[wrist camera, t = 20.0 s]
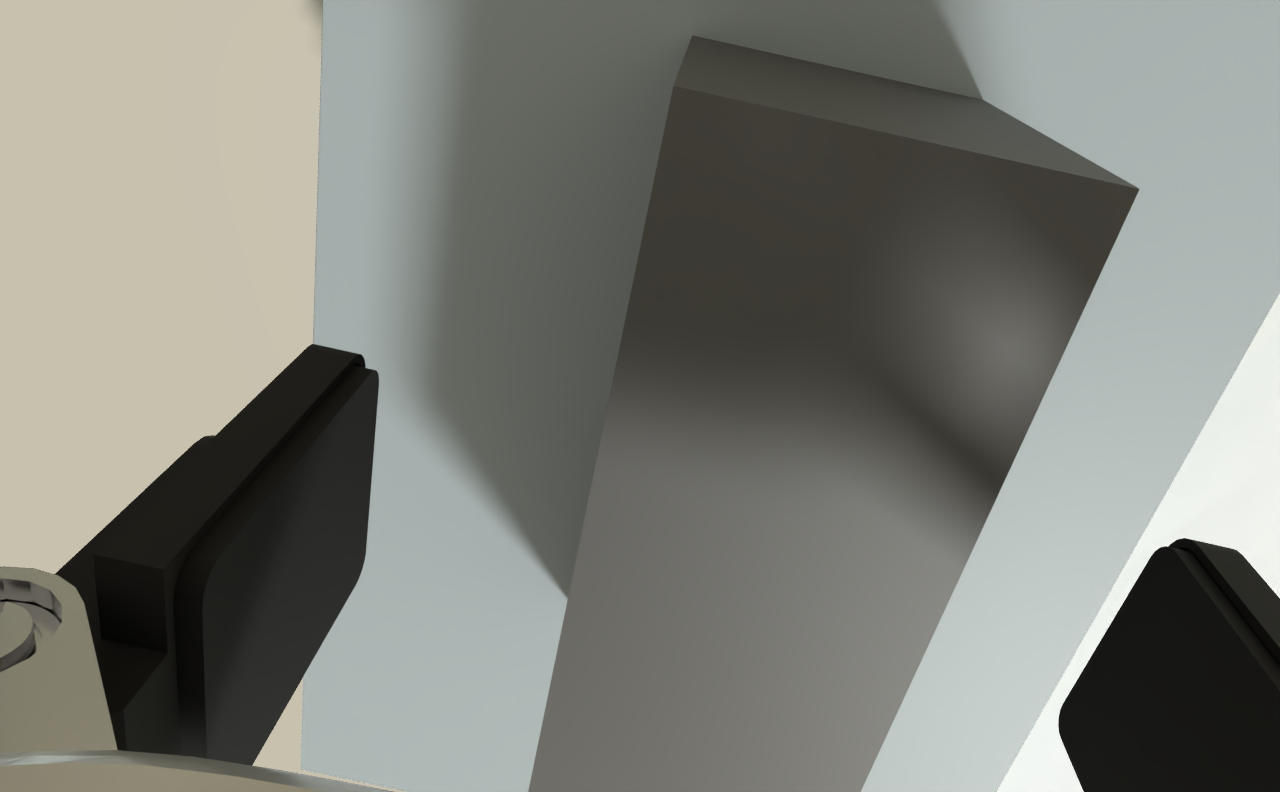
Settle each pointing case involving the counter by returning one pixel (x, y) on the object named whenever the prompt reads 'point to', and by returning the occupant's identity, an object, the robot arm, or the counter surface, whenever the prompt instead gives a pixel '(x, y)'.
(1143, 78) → the lid
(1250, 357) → the counter surface
